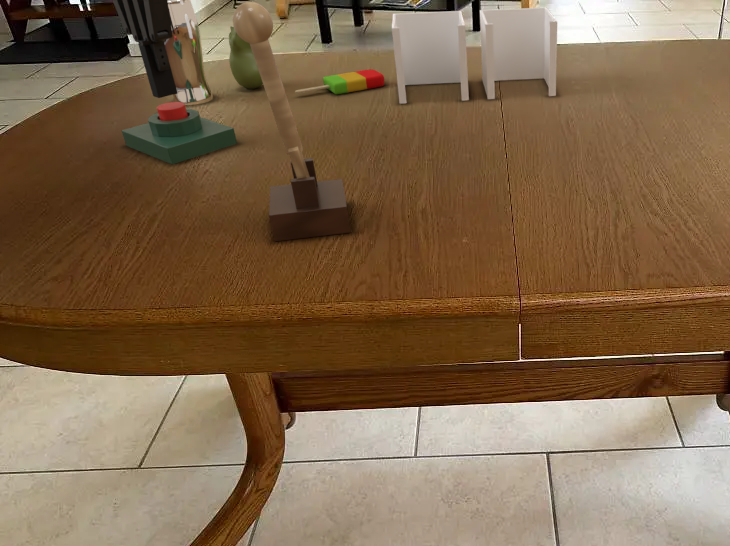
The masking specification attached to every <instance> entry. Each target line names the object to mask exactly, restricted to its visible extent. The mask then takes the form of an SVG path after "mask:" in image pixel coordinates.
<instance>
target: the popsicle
mask: <svg viewBox="0 0 730 546" xmlns="http://www.w3.org/2000/svg"><path fill="white" fill-rule="evenodd" d="M322 82H323V85H318V86H312V87H307V88H300V89H297V90H294V93H295V94H302V93H308V92H313V91H319V90H324V89H327V90H329V91H330V92H331V93H333V94H334V95H342V94H349V93H353V92H360V91H365V90H370V89H376V88H381V87H383V86H385V76H384V74H383V73H381V72H379V71H378V70H376V69H374V68H373V69H363V70H357V71H349V72H345V73H338V74H332V75H326V76H323V78H322Z"/></svg>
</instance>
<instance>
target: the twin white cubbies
mask: <svg viewBox="0 0 730 546" xmlns="http://www.w3.org/2000/svg"><path fill="white" fill-rule="evenodd" d="M391 20H392V22H391V34H392V35H391V36H392V44H393V45H392V46H393V53H394V65H395V73H396V74H395V75H396V83H397V93H398V103H399V105H401V104H407V103H408V102H407V92H406V86H412V85H413V86H414V85H432V84H433V85H434V84H436V85H437V84H453V83H454V84H455V83H457V84H458V83H460V93H461V95H460V96H461V101H462V102H463V101H465V102H466V101H469V100H470V97H469V95H470V94H469V76H468V55H467V35H466V23H465V20H464V16H463V12H462V10H451V11H447V10H446V11H425V12H401V13H392V19H391ZM479 25H480V29H479V30H480V50H481V51H480V52H481V55H480V56H481V77H482V79H481V80H482V81H481V82H482V84H483V87H484V91H485V94H486V98H487V100H496V93H495V92H496V89H495V88H496V87H495V81H496V82H498V81H499V82H500V81H517V80H519V81H520V80H537V79H539V80H541V79H543V80H544V81H545V83H546V85H547V87H548V97H556V96H557V63H558V61H557V59H558V57H557V55H558V54H557V53H558V20H557V19H556V17H555V16H554V15H553V14H552V12H551V11H550V10H549V8H548V7H526V8H525V7H524V8H498V9H479Z"/></svg>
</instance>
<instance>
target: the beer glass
mask: <svg viewBox="0 0 730 546" xmlns="http://www.w3.org/2000/svg"><path fill="white" fill-rule="evenodd" d="M167 1H168V8H169V15H170V22H171V28H172V38H169V39H167V40H166V42H164V44H165V48H166V52H167V56H168V59H169V63H170V67H171V71H172V74H173V78H174V82H175V85H176V89H177V93H178V94H174V95H172V97H173V102H181V103H184V104H185V106H197V105H202V104H205V103H209V102H211V101H213V99H214V95H213V92H212V89H211V87H210V86H209V83H208V80H207V77H206V74H205V67H204V55H203V44H202V38H201V37H202V36H201V31H200V27H199V23H198V19H197V16H196V13H195V9H194V7H193V4H192V0H167Z"/></svg>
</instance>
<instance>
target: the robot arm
mask: <svg viewBox="0 0 730 546" xmlns="http://www.w3.org/2000/svg"><path fill="white" fill-rule="evenodd" d="M112 2H113V5H114V8H115V10H116V12H117V15H118V17H119V20H120V22H121V25H122V28H123V30H124V32H125V34H126V35H127V36H130V35H131V36H132V39H133V40H134V42H136V43H138V44H137V45H138V48H139V51H140V56H141V59H142V62H143V66H144V69H145V73H146V76H147V79H148V83H149V87H150V90H151V93H152V97H154V98H158V99H161V98H164V97H165V98H166V97H170V96H173V95H174V94H178V93H177V89H176V85H175V82H174V78H173V74H172V71H171V67H170V63H169V59H168V56H167V52H166V48H165V44H164V42H166V40H167V39H169V38H172V28H171V22H170V15H169V8H168V1H167V0H112Z"/></svg>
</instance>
